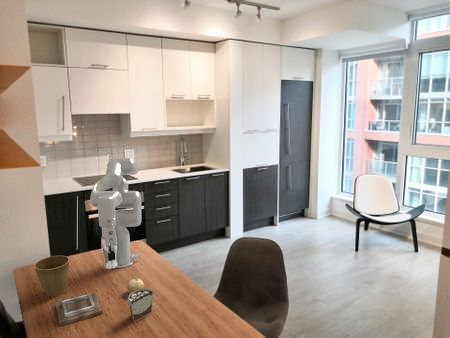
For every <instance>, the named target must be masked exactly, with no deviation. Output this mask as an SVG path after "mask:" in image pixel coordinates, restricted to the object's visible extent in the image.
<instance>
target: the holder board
mask: <svg viewBox="0 0 450 338" xmlns="http://www.w3.org/2000/svg"><path fill="white" fill-rule="evenodd" d="M101 306H102V305H101V304H100V301H99V299H98V295H97V293H96V292H93V293H88V294H84V295H79V296H76V297H73V298H71V297H70V298H69V299H65V300H62V301H58V302H55V307H56V313H57V320H58V326H59V327H61V326H64V325H68V324H72V323H75V322H79V321H82V320H85V319H90V318H93V317H96V316H99V315H103V309H102V307H101Z"/></svg>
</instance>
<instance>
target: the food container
mask: <svg viewBox="0 0 450 338" xmlns="http://www.w3.org/2000/svg"><path fill="white" fill-rule="evenodd" d="M154 294H155V292H154V290H153V289H150V288H143V289H139V290H136V291H134V292H132V293H129V295H128V297H127V305H128V306H129V310H130V311H129V312H130V317H131V318H130V319H131V321H132V322H133V323H136V322H137V321H139V320H141V319H143V318H145V317H146V316H147V315H150V314H152V313H153V297H154V296H153V295H154Z"/></svg>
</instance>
